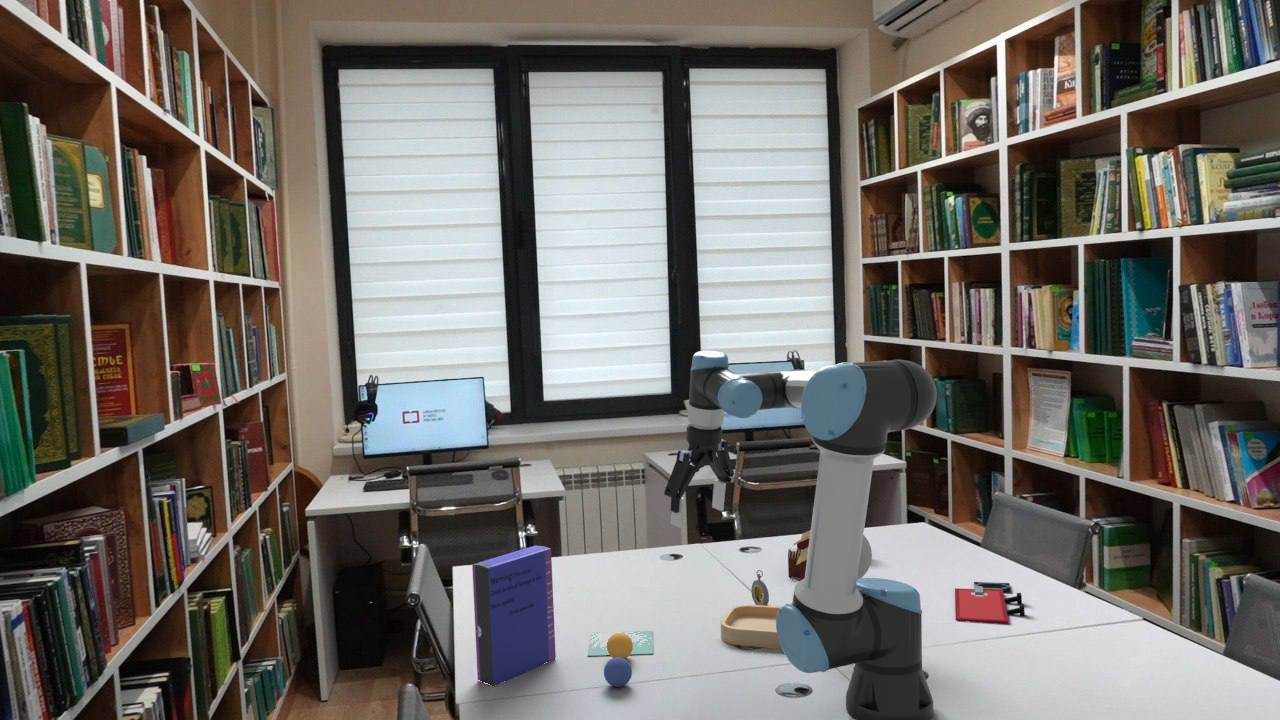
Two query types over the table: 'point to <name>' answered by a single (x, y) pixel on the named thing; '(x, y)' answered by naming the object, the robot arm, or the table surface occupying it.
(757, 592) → the pocket watch
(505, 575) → the purple book
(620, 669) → the blue ball
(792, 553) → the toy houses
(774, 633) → the lamp
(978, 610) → the red board with handle
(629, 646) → the orange ball
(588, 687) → the table surface
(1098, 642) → the table surface
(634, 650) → the green mark
